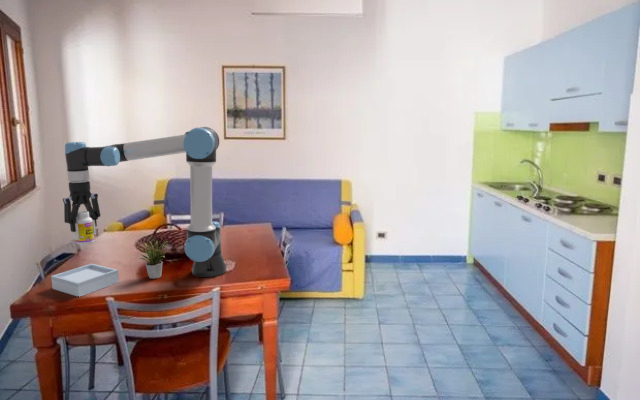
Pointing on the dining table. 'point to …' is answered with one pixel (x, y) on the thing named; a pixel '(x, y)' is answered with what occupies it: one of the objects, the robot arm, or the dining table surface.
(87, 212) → the supplement bottle
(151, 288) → the dining table surface
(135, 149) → the robot arm
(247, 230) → the dining table surface
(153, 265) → the house plant
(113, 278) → the shallow open tray
